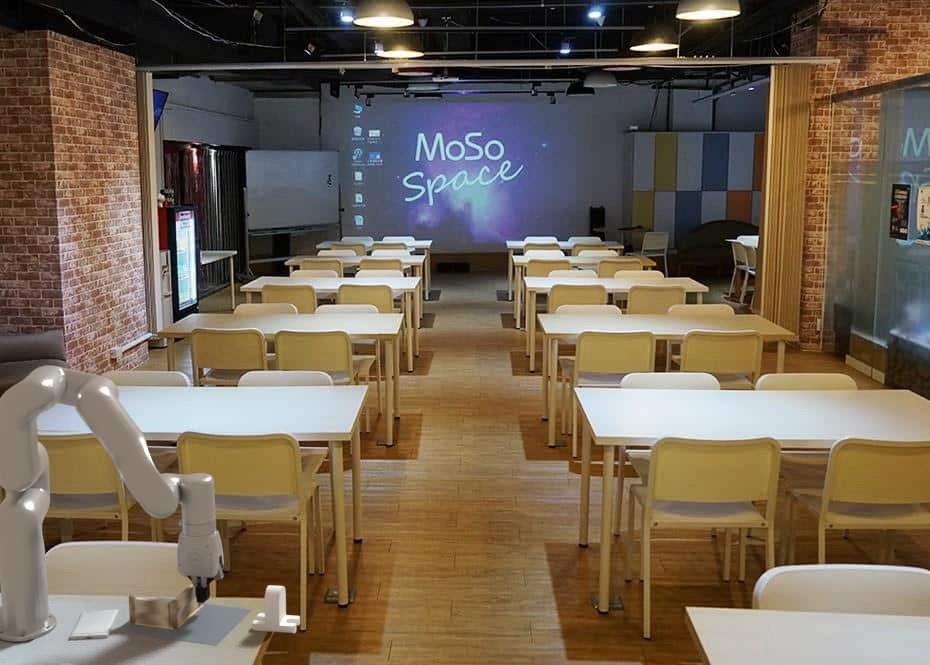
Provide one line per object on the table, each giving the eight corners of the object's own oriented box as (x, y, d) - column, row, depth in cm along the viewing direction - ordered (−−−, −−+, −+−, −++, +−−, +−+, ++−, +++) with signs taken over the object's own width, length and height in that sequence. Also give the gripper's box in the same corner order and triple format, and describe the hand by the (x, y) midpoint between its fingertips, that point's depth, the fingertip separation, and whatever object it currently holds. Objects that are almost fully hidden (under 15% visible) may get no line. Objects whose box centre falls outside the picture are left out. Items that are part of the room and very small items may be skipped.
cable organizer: (259, 620, 226) (258, 580, 224) (300, 623, 225) (300, 583, 223) (252, 631, 220) (251, 590, 219) (294, 634, 219) (293, 593, 218)
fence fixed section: (128, 623, 222) (127, 597, 221) (132, 619, 224) (131, 593, 223) (167, 628, 220) (166, 602, 219) (171, 625, 222) (170, 599, 221)
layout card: (115, 632, 219) (115, 630, 219) (157, 598, 236) (157, 597, 236) (216, 646, 213) (216, 645, 213) (252, 610, 230) (252, 609, 230)
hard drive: (82, 611, 226) (69, 636, 214) (119, 609, 228) (107, 634, 215) (83, 617, 227) (69, 643, 215) (119, 615, 228) (108, 641, 216)
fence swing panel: (176, 627, 220) (175, 600, 219) (169, 627, 220) (168, 599, 219) (202, 603, 232) (202, 577, 231) (196, 602, 232) (195, 577, 231)
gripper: (162, 529, 223) (166, 603, 226) (220, 535, 219) (224, 611, 222) (179, 518, 230) (183, 590, 233) (236, 524, 226) (239, 597, 229)
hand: (203, 600), depth 228 cm, fingers closed
